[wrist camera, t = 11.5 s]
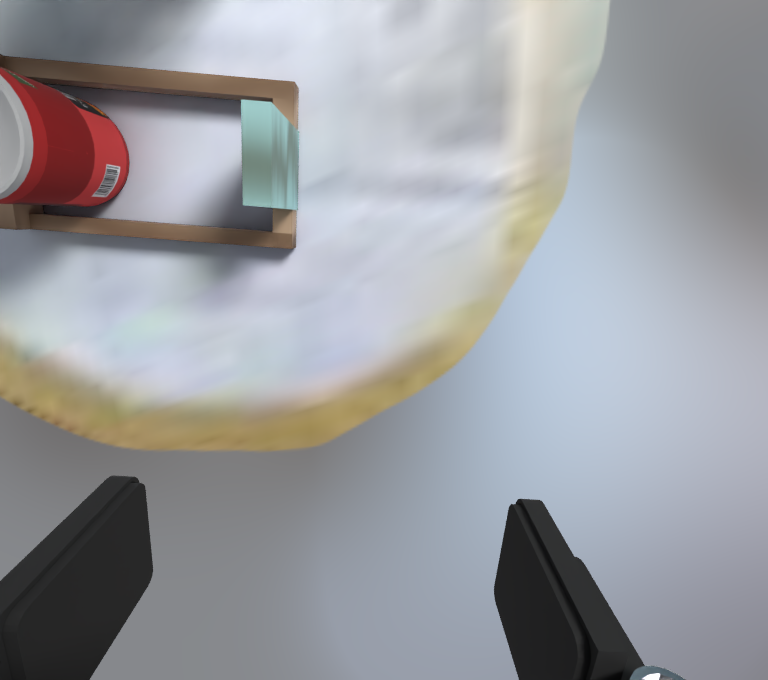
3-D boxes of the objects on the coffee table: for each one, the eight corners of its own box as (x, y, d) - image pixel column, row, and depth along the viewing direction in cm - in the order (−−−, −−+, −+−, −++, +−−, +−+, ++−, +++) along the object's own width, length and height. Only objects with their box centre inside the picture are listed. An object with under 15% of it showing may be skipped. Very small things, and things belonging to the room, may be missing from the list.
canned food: (118, 95, 33) (-5, 38, 22) (144, 202, 35) (44, 195, 25) (22, 105, 33) (-145, 53, 23) (54, 211, 35) (-84, 208, 25)
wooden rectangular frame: (0, 61, 32) (-139, 4, 23) (299, 88, 33) (271, 41, 24) (26, 227, 35) (-88, 229, 27) (296, 247, 36) (271, 256, 28)
